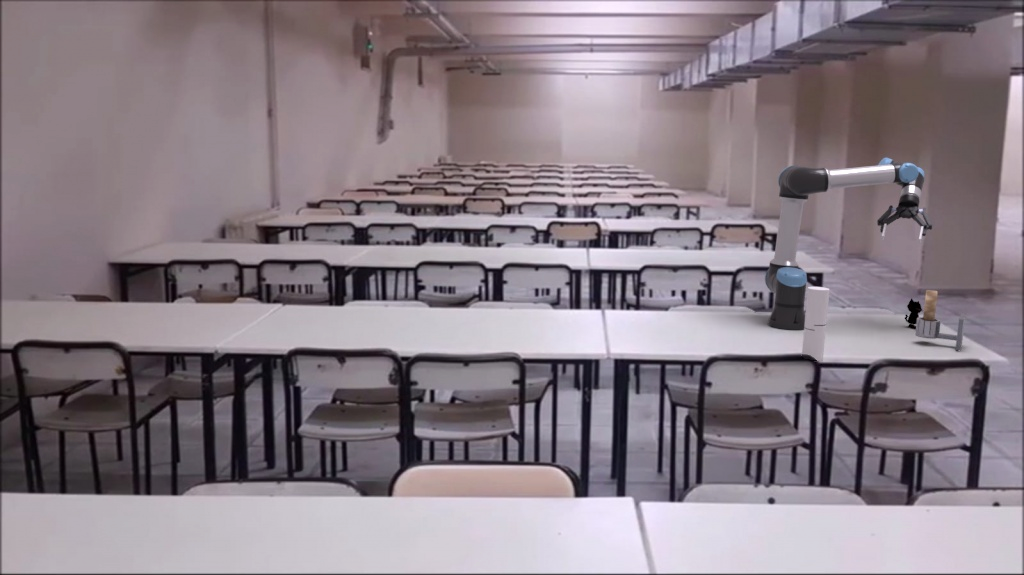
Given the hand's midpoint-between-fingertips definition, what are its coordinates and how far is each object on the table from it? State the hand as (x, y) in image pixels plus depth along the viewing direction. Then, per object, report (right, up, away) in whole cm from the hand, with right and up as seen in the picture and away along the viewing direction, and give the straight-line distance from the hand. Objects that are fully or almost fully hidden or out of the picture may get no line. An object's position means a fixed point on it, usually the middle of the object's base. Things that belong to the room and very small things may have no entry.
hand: (901, 239), depth 357 cm
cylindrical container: (-48, -44, -39) cm, 76 cm away
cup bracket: (+8, -41, -13) cm, 44 cm away
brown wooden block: (+5, -36, -12) cm, 38 cm away
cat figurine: (+12, -36, +18) cm, 42 cm away
